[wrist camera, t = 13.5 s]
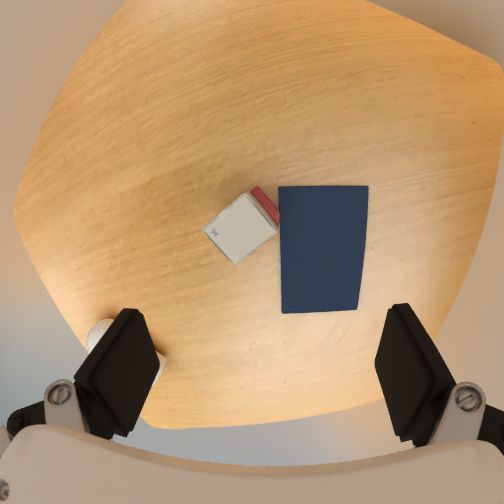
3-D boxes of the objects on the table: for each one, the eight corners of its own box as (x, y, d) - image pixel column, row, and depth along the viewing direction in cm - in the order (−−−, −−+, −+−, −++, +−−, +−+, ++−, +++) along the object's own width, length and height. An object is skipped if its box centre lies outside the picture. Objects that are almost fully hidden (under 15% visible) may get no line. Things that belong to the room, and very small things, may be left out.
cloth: (367, 186, 28) (368, 186, 28) (356, 308, 34) (357, 309, 34) (278, 186, 29) (278, 187, 29) (281, 311, 35) (281, 313, 35)
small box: (247, 241, 31) (233, 268, 24) (222, 212, 30) (200, 230, 23) (282, 214, 30) (279, 232, 22) (256, 183, 29) (244, 191, 22)
